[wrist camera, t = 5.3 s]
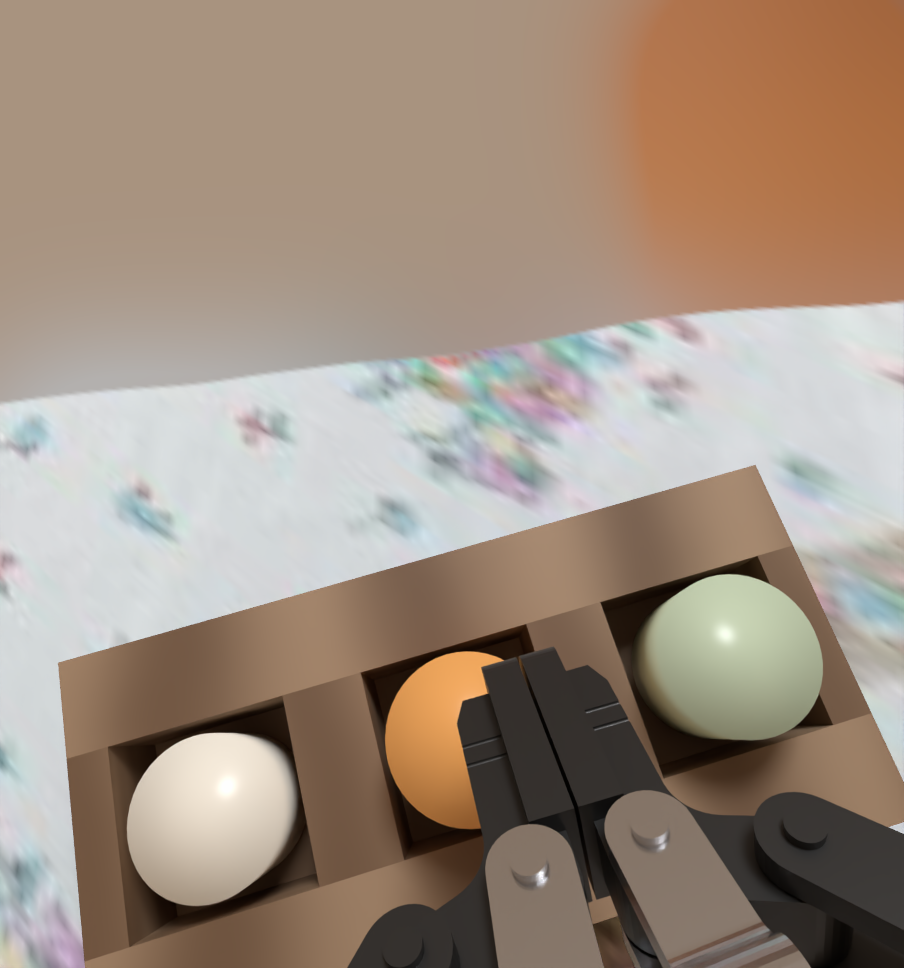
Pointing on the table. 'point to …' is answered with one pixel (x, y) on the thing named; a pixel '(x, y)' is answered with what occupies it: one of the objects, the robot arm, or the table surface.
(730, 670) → the sage egg
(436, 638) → the wooden egg holder
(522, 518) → the table surface
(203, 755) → the cream egg
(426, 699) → the orange egg
